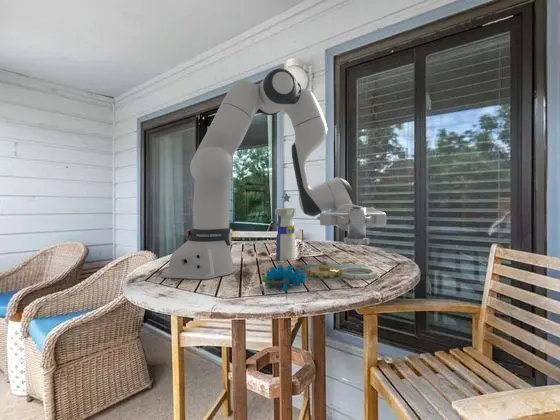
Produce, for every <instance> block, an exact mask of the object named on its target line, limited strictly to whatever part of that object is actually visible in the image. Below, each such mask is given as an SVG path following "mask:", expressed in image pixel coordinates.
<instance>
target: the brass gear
mask: <svg viewBox="0 0 560 420" xmlns="http://www.w3.org/2000/svg"><path fill="white" fill-rule="evenodd" d="M318 264H319V266H315V267H310V268H309V269H307V273H306V275H307V274H308V275H310V277H317V278H322V279H321V280H324V279H323V278H334V277H340V275H341V269H338V268H337V267H330V263H327V261H322V262H320V263H318Z"/></svg>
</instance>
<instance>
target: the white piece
mask: <svg viewBox="0 0 560 420" xmlns="http://www.w3.org/2000/svg"><path fill="white" fill-rule="evenodd" d="M281 198H283V203H286V202H288V203H290V200H289V199H290V198H292V196H290V195H288V194H287V193H285V195H282V196H281ZM297 214H298V213H297V208H294V207H283V208H282V207H280V208H279V207H277V208H275V210H274V215H276V216H277V223H276V224H275V225H276V226H277V227H276V228H277V229H276V230H277V232H276V233H277V234H276V237H275V238H276V239H275V242H276V244H275V245H276V247H275V248H276V249H275V250H276V251H275V261H277V262H287V261H288V260H290V259H295V258H296V257H297V251H296V249H297V246H296V234H295V225H296V223H295V222H294V218H296V217H297Z"/></svg>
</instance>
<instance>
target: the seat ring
mask: <svg viewBox="0 0 560 420" xmlns="http://www.w3.org/2000/svg"><path fill="white" fill-rule="evenodd" d="M347 271H364V272H370V273H369V274H350V273H345V272H347ZM341 273H342V276H343V277H347V278H352V279H351V280H370V279H369V278H373V277H376V276H377V275H378V271H377V270H375V269H374V268H370V267H368V268H365V267H345V268H341ZM353 278H355V279H353Z"/></svg>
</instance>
